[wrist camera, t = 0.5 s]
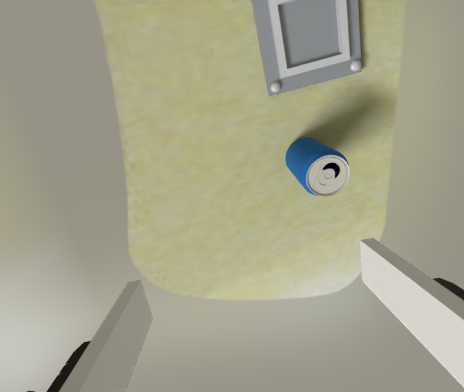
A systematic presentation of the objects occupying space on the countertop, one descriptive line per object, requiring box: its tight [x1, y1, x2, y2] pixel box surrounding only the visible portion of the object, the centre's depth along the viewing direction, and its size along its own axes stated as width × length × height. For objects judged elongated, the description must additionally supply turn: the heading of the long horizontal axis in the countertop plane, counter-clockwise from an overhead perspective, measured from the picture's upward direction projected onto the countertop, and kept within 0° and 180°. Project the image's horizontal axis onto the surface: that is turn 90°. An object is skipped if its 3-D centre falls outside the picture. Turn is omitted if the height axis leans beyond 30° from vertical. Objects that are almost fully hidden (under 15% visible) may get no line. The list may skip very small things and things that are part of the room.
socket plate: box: [251, 0, 362, 96], centre depth 35 cm, size 14×14×2 cm
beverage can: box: [286, 138, 350, 197], centre depth 37 cm, size 6×6×12 cm
